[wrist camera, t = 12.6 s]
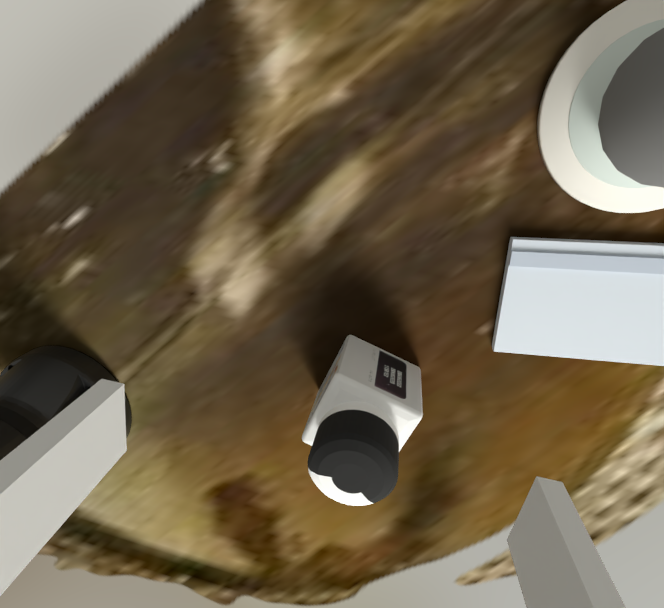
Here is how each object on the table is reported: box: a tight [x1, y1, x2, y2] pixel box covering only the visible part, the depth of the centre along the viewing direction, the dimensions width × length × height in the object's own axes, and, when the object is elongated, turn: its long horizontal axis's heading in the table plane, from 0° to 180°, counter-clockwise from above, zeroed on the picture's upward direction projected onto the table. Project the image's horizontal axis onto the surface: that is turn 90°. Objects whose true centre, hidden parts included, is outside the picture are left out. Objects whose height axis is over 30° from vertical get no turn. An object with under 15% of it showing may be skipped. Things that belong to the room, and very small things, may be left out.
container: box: [302, 335, 423, 506], centre depth 35 cm, size 8×8×13 cm
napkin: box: [492, 237, 664, 366], centre depth 33 cm, size 16×10×1 cm, turn 90°
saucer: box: [537, 0, 664, 213], centre depth 28 cm, size 14×14×1 cm
